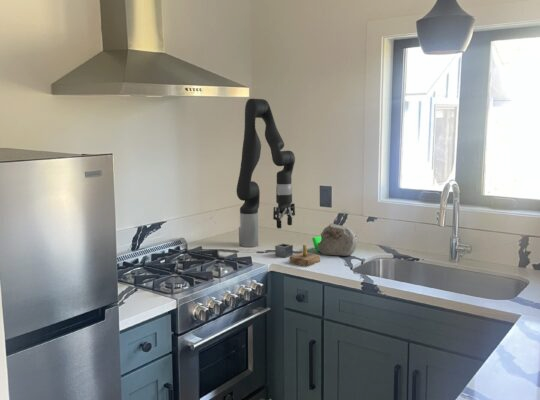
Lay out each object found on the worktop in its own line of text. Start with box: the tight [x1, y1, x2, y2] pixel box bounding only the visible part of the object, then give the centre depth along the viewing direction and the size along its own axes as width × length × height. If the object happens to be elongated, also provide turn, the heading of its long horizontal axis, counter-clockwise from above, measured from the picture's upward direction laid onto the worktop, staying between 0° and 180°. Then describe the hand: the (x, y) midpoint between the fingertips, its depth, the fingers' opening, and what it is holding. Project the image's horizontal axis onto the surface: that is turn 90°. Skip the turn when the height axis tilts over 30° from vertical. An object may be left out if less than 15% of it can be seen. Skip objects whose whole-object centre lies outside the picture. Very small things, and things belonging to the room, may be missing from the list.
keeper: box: [289, 244, 321, 267], centre depth 250 cm, size 10×10×8 cm
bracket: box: [311, 235, 321, 252], centre depth 277 cm, size 20×10×7 cm, turn 117°
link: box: [274, 243, 294, 259], centre depth 262 cm, size 6×6×5 cm
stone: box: [317, 223, 358, 257], centre depth 262 cm, size 19×7×15 cm, turn 68°
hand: (284, 226), depth 261 cm, fingers open, 8 cm apart
